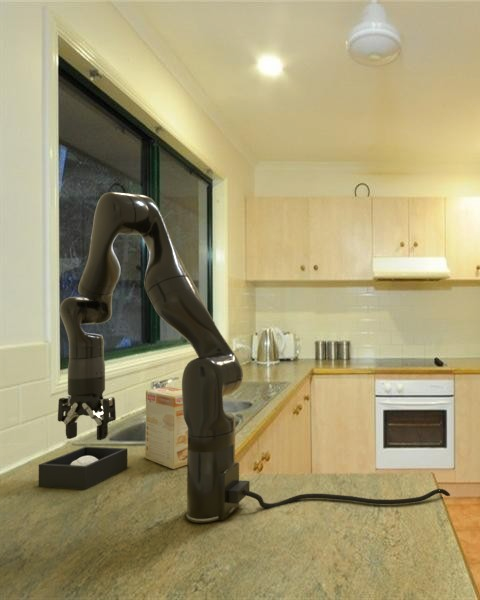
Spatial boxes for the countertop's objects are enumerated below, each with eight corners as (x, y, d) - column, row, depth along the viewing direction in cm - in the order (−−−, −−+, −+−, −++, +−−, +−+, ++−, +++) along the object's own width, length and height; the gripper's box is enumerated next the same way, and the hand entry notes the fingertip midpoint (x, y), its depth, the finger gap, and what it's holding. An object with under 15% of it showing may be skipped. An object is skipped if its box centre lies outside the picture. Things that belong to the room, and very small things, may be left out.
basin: (127, 468, 108) (127, 448, 108) (85, 489, 95) (85, 467, 95) (85, 465, 109) (85, 446, 109) (38, 486, 97) (38, 464, 97)
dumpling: (90, 468, 106) (95, 453, 107) (102, 475, 104) (107, 460, 105) (60, 474, 100) (66, 457, 100) (73, 481, 98) (78, 465, 98)
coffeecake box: (198, 461, 113) (199, 391, 113) (172, 470, 106) (173, 396, 107) (169, 450, 120) (170, 385, 121) (144, 458, 114) (144, 390, 115)
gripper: (47, 377, 100) (47, 442, 100) (99, 378, 98) (99, 444, 98) (75, 372, 107) (75, 433, 107) (123, 372, 106) (123, 434, 105)
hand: (86, 438), depth 102 cm, fingers open, 8 cm apart
